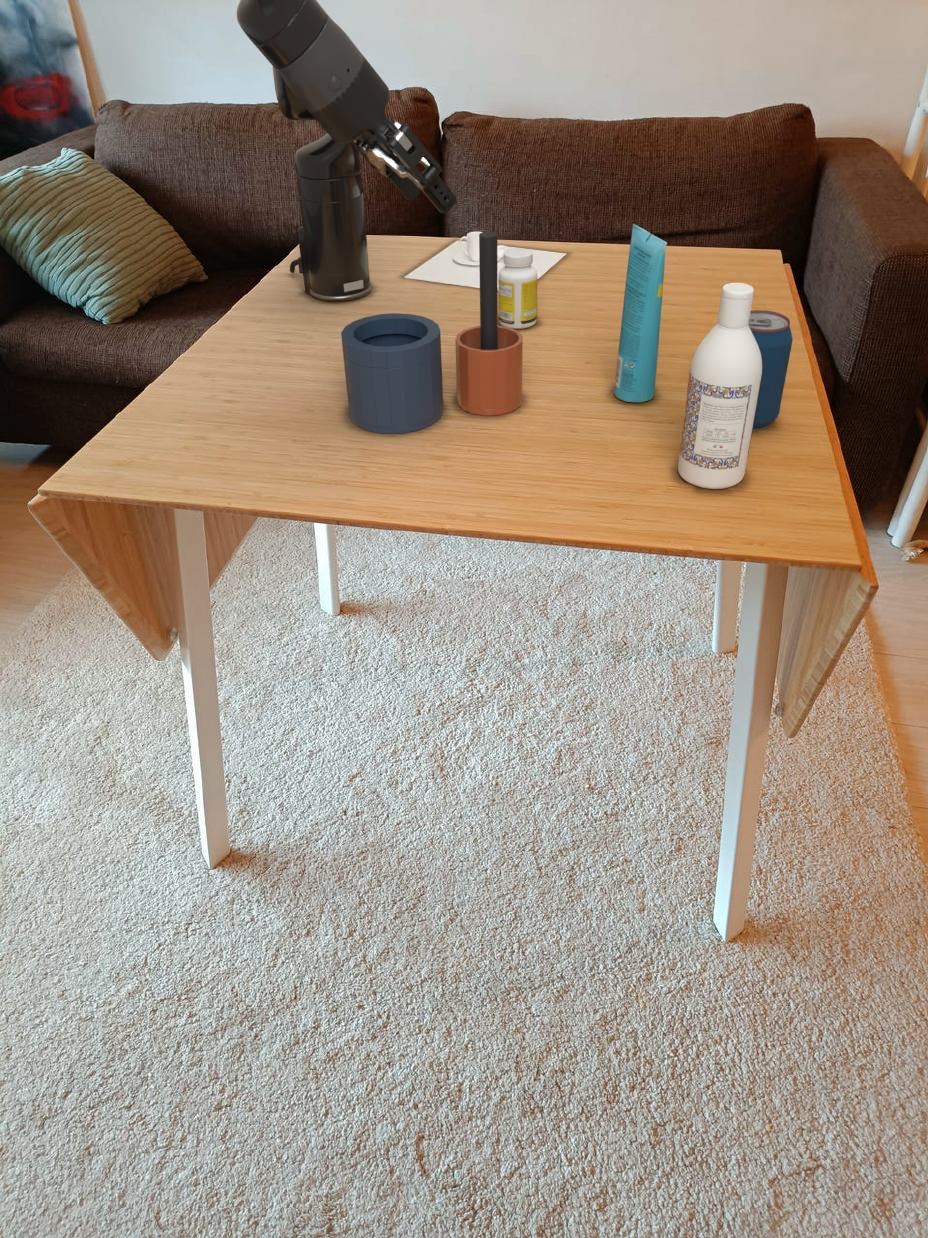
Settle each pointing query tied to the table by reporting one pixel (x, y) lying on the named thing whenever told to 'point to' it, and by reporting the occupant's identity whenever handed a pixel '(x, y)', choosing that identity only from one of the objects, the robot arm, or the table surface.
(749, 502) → the table surface
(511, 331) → the crock
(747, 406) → the bath foam
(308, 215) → the robot arm
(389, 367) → the jar
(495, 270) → the sponge wand
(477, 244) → the teacup and saucer
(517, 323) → the supplement bottle
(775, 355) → the soda can
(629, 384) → the tube
